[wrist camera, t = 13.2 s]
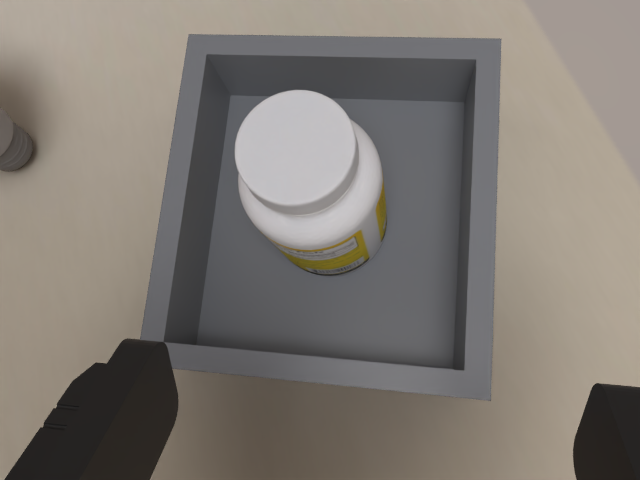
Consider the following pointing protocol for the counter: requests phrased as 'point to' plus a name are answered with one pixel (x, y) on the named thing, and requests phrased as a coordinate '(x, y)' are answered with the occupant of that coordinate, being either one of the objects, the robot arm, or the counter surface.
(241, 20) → the counter surface
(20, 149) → the lightbulb
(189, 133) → the tote
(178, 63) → the counter surface
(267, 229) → the supplement bottle
